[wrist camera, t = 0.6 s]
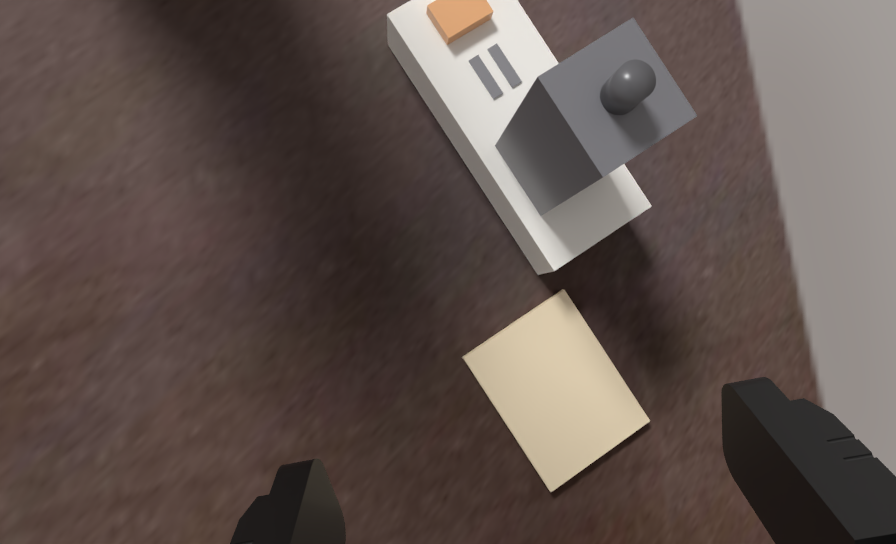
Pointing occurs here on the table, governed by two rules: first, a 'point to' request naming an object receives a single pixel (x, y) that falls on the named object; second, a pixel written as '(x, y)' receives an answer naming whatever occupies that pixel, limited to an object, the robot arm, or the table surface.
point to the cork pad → (556, 389)
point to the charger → (591, 116)
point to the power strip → (501, 117)
